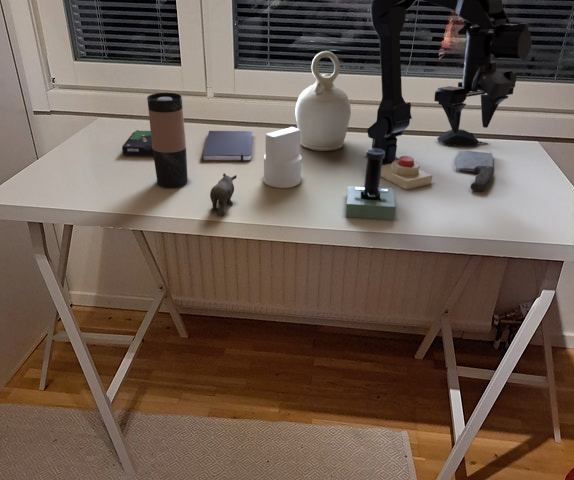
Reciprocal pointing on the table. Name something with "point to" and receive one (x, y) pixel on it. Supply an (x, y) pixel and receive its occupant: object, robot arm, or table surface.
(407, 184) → the panel
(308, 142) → the white bell
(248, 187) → the table surface
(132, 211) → the table surface
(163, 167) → the travel mug
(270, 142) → the cylinder with rectangular tab
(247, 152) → the notebook
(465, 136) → the gaming mouse
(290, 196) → the table surface
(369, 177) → the black flanged tube
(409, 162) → the button
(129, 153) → the disk drive
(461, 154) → the cleaver
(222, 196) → the rhino figurine
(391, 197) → the green square frame
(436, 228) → the table surface
